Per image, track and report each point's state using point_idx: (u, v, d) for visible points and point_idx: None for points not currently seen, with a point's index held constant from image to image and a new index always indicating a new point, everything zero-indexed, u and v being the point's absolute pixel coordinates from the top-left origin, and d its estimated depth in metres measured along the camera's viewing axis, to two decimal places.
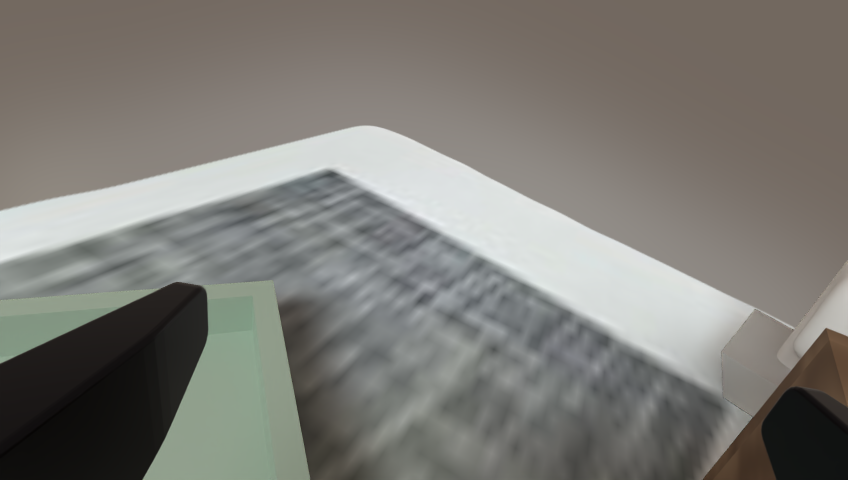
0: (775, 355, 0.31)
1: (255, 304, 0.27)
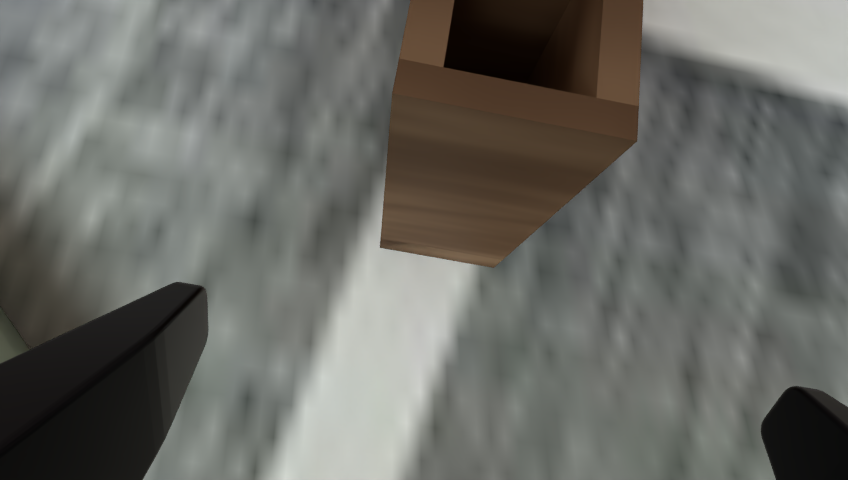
0: None
1: None
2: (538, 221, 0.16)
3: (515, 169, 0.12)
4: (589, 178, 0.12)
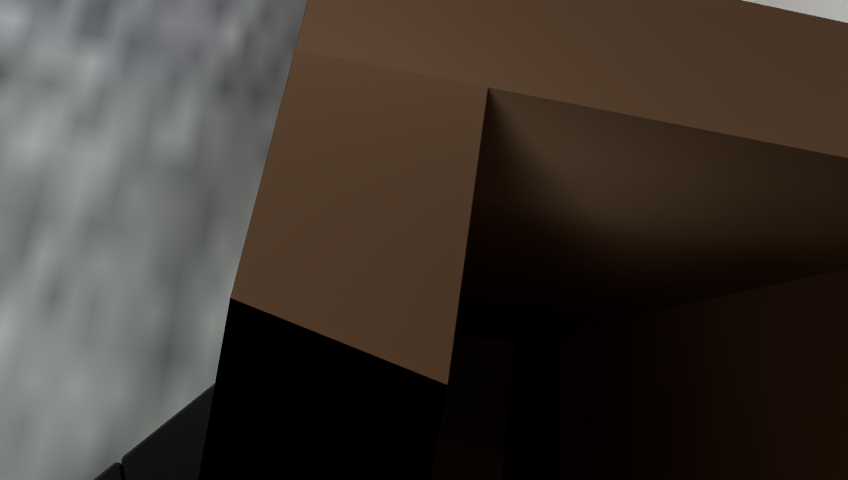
0: None
1: None
2: None
3: None
4: None
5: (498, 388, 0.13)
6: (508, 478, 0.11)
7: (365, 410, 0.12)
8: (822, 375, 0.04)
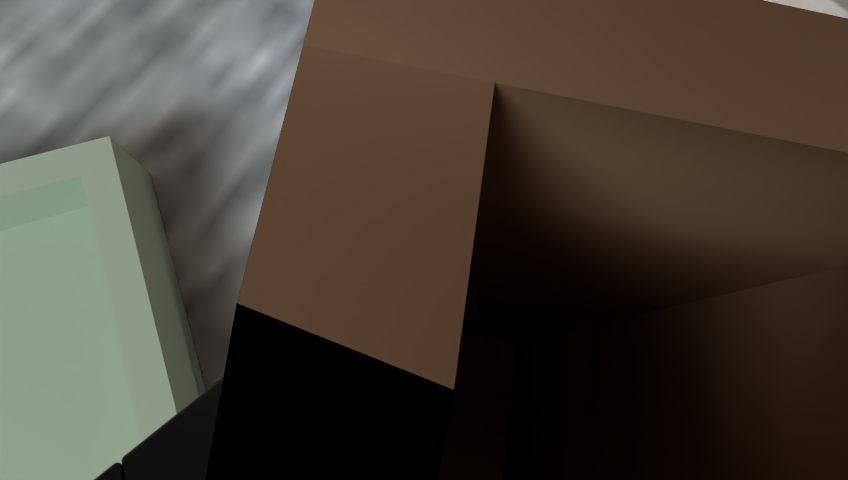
0: None
1: (88, 192, 0.18)
2: None
3: None
4: None
5: (499, 387, 0.13)
6: (510, 477, 0.12)
7: (367, 409, 0.12)
8: (825, 372, 0.04)
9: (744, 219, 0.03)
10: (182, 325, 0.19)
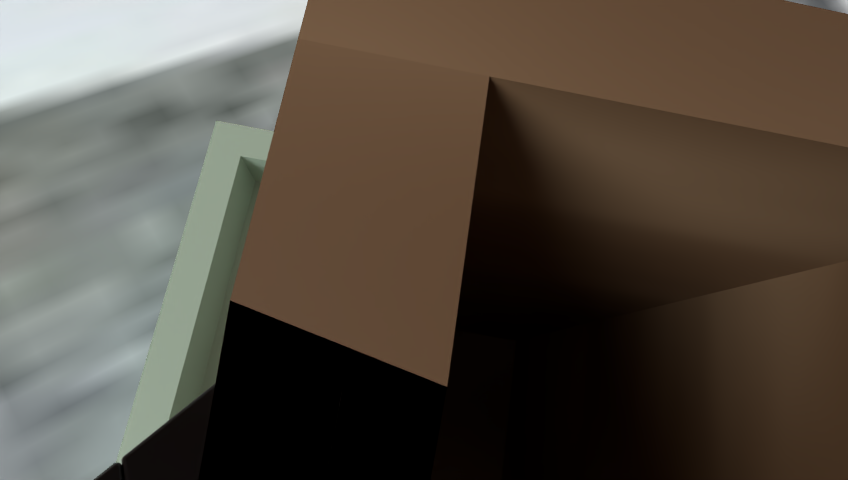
0: None
1: None
2: None
3: None
4: None
5: (499, 386, 0.13)
6: (509, 475, 0.12)
7: (366, 407, 0.12)
8: (822, 367, 0.04)
9: (740, 214, 0.03)
10: None
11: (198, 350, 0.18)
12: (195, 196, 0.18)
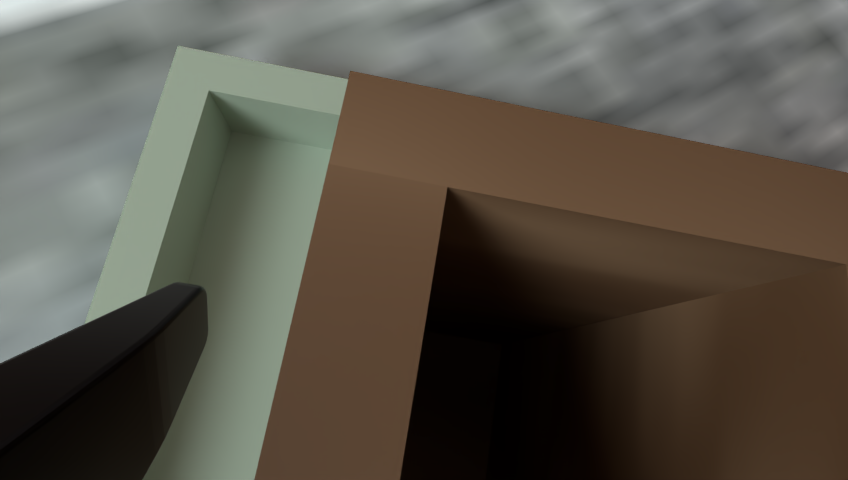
0: None
1: None
2: None
3: None
4: None
5: (485, 385, 0.14)
6: (493, 464, 0.13)
7: None
8: (704, 371, 0.05)
9: (633, 262, 0.05)
10: None
11: None
12: (148, 140, 0.14)
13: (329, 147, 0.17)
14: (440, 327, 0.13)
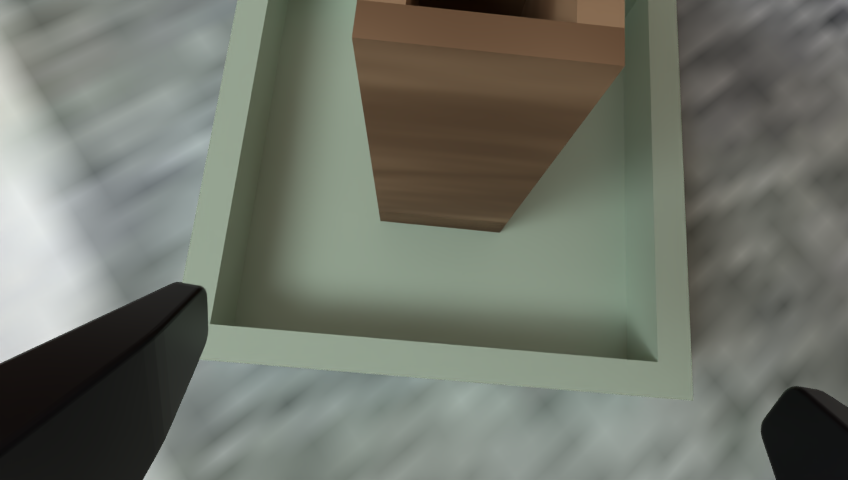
0: None
1: None
2: (535, 175, 0.15)
3: (500, 115, 0.12)
4: (580, 117, 0.11)
5: None
6: None
7: None
8: None
9: None
10: None
11: (258, 112, 0.21)
12: None
13: None
14: None
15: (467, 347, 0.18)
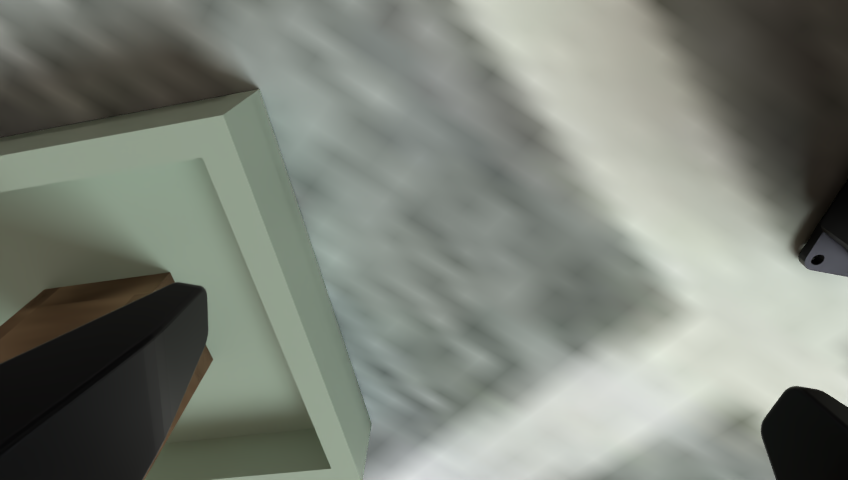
0: None
1: None
2: None
3: None
4: None
5: None
6: None
7: None
8: None
9: None
10: None
11: (174, 463, 0.26)
12: None
13: None
14: None
15: (270, 319, 0.20)
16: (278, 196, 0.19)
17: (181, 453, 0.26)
